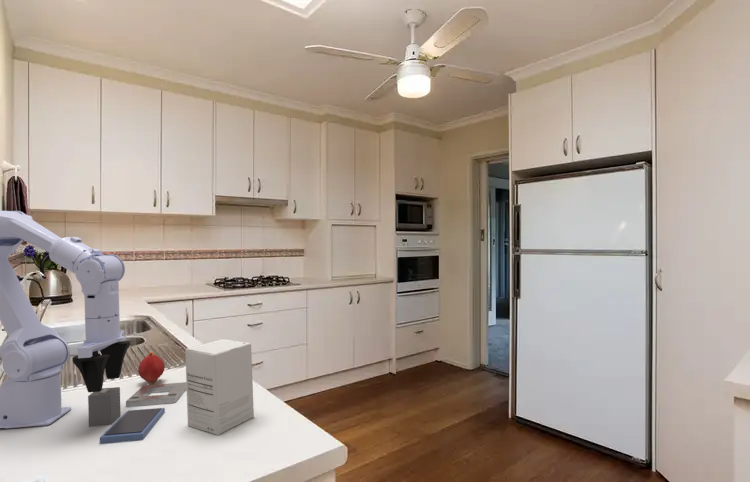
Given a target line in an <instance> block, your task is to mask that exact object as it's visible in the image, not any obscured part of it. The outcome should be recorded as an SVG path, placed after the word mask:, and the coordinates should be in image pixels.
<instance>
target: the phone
mask: <svg viewBox="0 0 750 482" xmlns="http://www.w3.org/2000/svg"><path fill="white" fill-rule="evenodd" d="M165 410H166V408H165V407H155V408H145V409H142V408H141V409H131V410H127V411H125V413H123V415H121V416H120V417H119V418H118V419H117V420H116V421H115V422H114V423H113V424H112V425H110V427H109V428H108V429H107V430H106V431H105V432H104V433H102V434H101V435H100V437H99V445H104V444H105V445H106V444H115V443H116V444H117V443H126V442H135V441H143V440H144V439H145V438H146V437H147V435H149V433H150V431H151V430H152V429H153V428H154V427H155V425H156V424H157V423H158V422H159V420H160V419H161V418H162V416H163V415H164V414H165V413H166V411H165Z"/></svg>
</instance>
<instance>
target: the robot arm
mask: <svg viewBox="0 0 750 482" xmlns="http://www.w3.org/2000/svg"><path fill="white" fill-rule="evenodd" d="M82 241H83V239H82V238H80V237H78V236H66V237H60V236H59V235H57V234H55V233H54V232H52V231H51V230H50V229H47V228H46V227H44V226H43V225H41V224H40V223H38V222H36V220H34V219H33V216H31V215H29V214H26V213H24V212H23V211H20V210H0V323H1V325H2V326H3V329H4V331H5V333H6V334H7V336H8V337H7V338H6V339H5V341H4V342H3V343H2V345H1V346H0V356H1V359H2V369H3V372H4V373H5V375H6V376H7V377H8V378H5V380H3V382H1V385H0V428H6V429H15V428H16V429H17V428H29V427H41V426H49V425H51V424H52V423H54V422H56V420H58V419H59V418H60V417H62V416H63V415H65V414H66V413H68V412H69V411H70V410H72V407H71V406H66V407H65V406H64V407H62V380H61V379H62V378H61V375H62V374H61V371H63V370H64V365H65V364H67V362H68V361H69V359H70V356H71V349H70V345H69V343H68V342H67V341H66V340H65V339H63V338H62V337H61V336H60V335H59V333H58V330H56V329H54V328H52V327H50V326H47V325H45V324H43V323H42V322H41V320H40V319H39V317H38V315H37V313H36V311H35V309H34V307H33V305H32V303H31V301H30V300H29V297H28V295H27V294H26V292H25V290H24V288H23V286H22V283H21V281H20V280H19V278H18V276H17V274H16V272H15V270H14V268H13V266H12V265H11V263H10V260H9V257H10V256H11V255H12V254H14V253H15V252H16V251H17V249H18V248H19V247H20V245H21V244H22V242H26V243H28V244H31V245H33V246H35V247H37V248H39V249H41V250H43V251H45V252H47V253H48V257H49V260H50V261H52V262H53V263H55V264H57V265H59V266H61V267H63V268H64V269H66V270H67V271H69V272H71V273H73V274H74V275H75V277H76V280H77V281H78V283H79V284H80V287H81V292H82V294H83V297H84V298H83V299H84V324H85V325H84V327H85V329H84V331H85V332H84V333H85V339H84V341H83V342H82V344H81V346H79V347H77V355H75V356H73V357H72V363H73V364H74V366H76V368H77V369H78V371H79V372H80V374H81V376H82V379H83V381H84V385H85V388H86V391H87V393H93V392H100V391H101V390H102V388H103V386H104V378H105V377H106V379H107V380H113V379H115V380H116V379H120V376H121V374H122V370H123V369H122V368H123V363H124V359H125V356H126V355H127V354H126V353H127V352H128V349H129V347H130V346H131V341H130V340H127V335H125V330H123V329H122V330H121V328H120V327H121V326H120V325H121V323H120V290H119V281H121V280H122V279H123V277H124V275H125V273H126V267H125V263H124V262H123V260H122V259H121V258H120V257H119V256H118V255H117V254H112V253H111V254H106V255H105V254H103V253H102V251H101V249H98V248H92V247H90V246H88V245H87V244H85V243H83V242H82ZM99 352H100V353H99ZM104 375H105V377H104Z"/></svg>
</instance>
